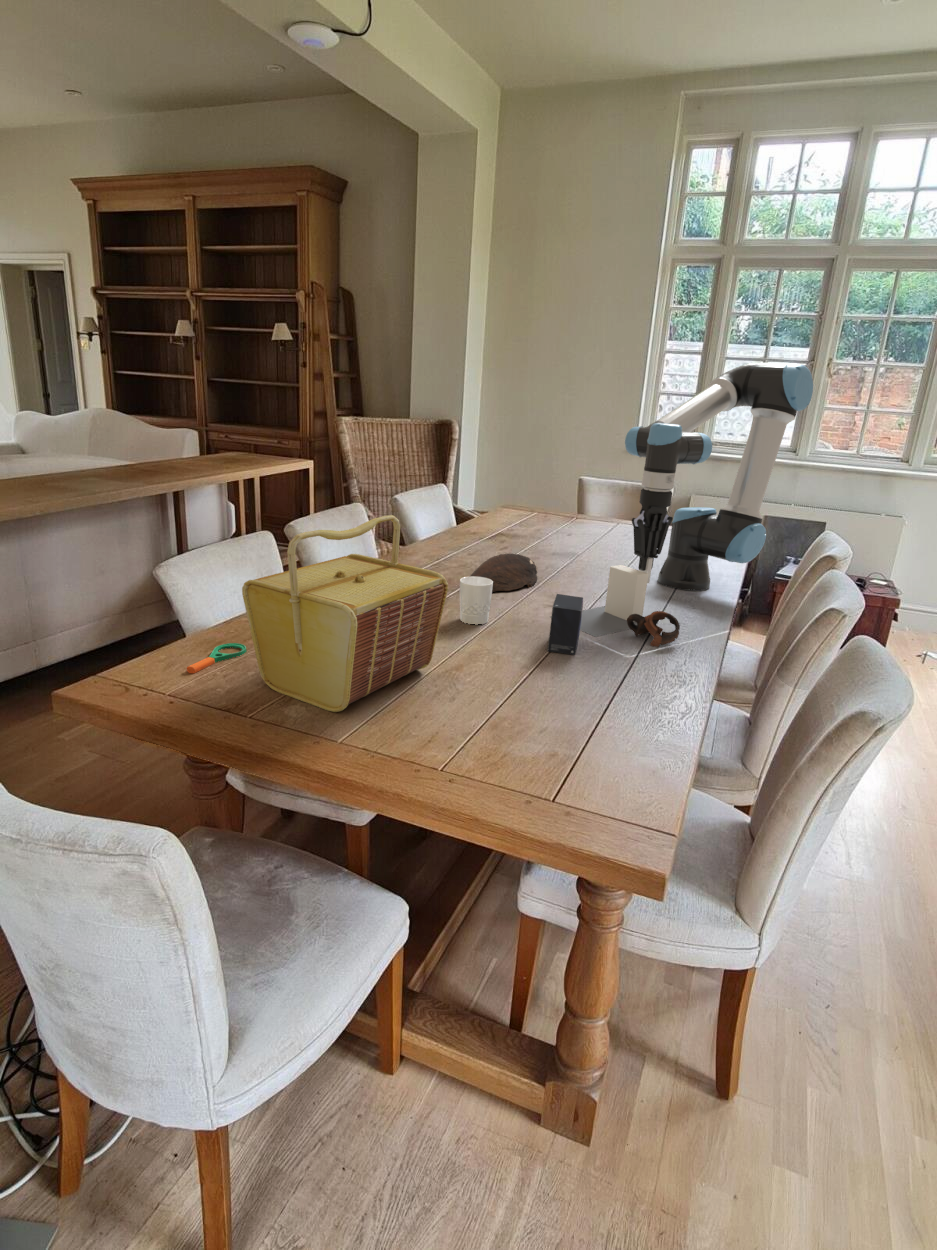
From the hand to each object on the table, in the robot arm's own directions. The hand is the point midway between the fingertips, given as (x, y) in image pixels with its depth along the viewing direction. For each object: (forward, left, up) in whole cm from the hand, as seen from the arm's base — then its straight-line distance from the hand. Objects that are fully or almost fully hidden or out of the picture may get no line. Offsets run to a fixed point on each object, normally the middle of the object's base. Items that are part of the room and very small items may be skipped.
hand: (643, 582), depth 181 cm
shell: (+12, -42, -9) cm, 44 cm away
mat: (+13, 0, -9) cm, 16 cm away
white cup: (+42, -15, -9) cm, 45 cm away
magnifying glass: (+102, -19, -9) cm, 104 cm away
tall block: (+6, 0, -8) cm, 10 cm away
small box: (+34, +8, -9) cm, 36 cm away
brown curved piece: (+13, +15, -9) cm, 22 cm away
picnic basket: (+84, +2, -9) cm, 85 cm away
